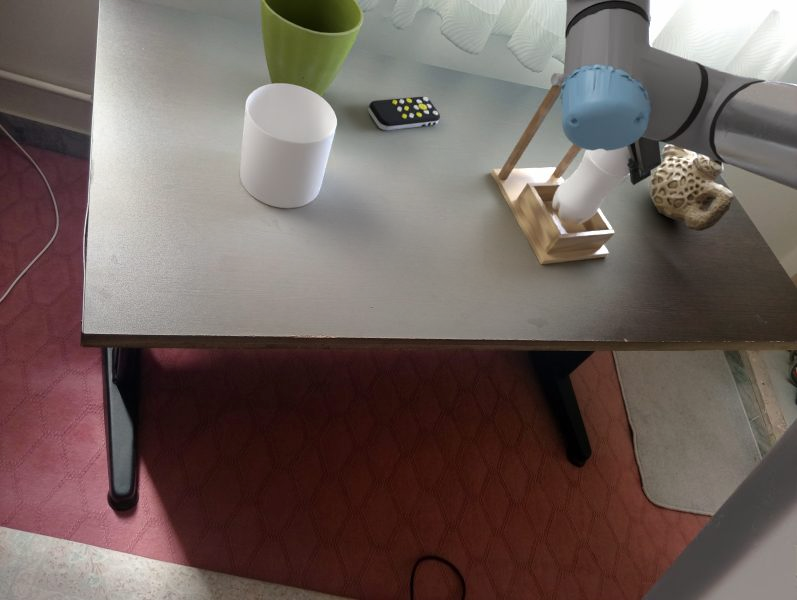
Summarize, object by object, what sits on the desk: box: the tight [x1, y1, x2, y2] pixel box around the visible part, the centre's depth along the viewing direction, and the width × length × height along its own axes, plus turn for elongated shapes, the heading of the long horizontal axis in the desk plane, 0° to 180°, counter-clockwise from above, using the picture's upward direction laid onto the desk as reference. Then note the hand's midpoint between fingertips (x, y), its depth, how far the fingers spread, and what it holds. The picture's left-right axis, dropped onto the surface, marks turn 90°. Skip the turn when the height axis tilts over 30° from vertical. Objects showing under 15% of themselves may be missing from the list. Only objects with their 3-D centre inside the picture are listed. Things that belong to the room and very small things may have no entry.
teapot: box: [648, 143, 735, 232], centre depth 98 cm, size 21×12×15 cm, turn 1°
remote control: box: [367, 96, 441, 131], centre depth 95 cm, size 6×13×2 cm, turn 118°
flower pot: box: [259, 0, 364, 98], centre depth 84 cm, size 15×15×16 cm
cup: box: [239, 83, 338, 209], centre depth 74 cm, size 12×12×12 cm
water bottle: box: [552, 146, 631, 224], centre depth 79 cm, size 7×7×25 cm
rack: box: [490, 72, 616, 265], centre depth 84 cm, size 20×15×21 cm
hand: (626, 159), depth 81 cm, fingers closed on water bottle, 7 cm apart
